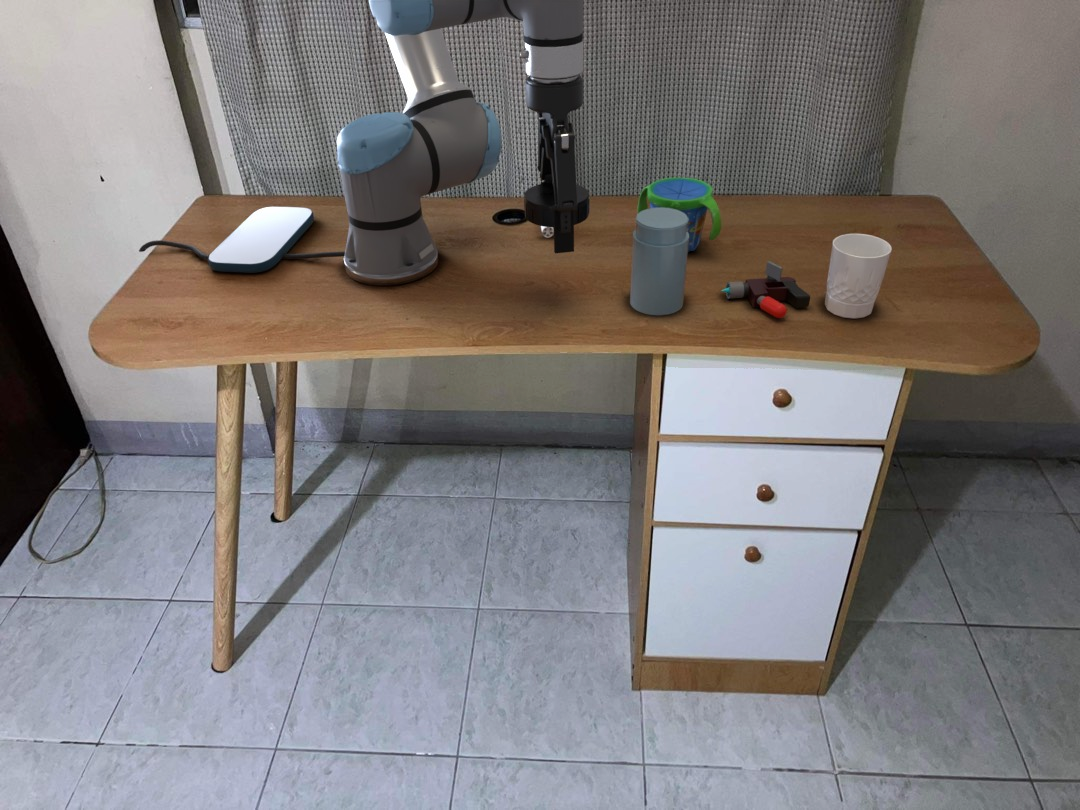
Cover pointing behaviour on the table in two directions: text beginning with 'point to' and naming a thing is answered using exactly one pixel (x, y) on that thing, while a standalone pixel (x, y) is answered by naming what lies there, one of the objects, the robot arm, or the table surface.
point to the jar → (659, 261)
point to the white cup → (855, 274)
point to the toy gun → (770, 291)
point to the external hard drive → (261, 240)
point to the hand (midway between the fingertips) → (557, 237)
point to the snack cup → (684, 204)
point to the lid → (551, 204)
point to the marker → (547, 231)
